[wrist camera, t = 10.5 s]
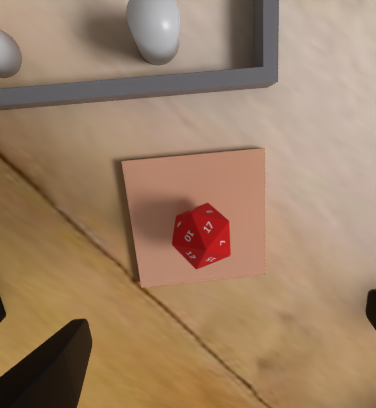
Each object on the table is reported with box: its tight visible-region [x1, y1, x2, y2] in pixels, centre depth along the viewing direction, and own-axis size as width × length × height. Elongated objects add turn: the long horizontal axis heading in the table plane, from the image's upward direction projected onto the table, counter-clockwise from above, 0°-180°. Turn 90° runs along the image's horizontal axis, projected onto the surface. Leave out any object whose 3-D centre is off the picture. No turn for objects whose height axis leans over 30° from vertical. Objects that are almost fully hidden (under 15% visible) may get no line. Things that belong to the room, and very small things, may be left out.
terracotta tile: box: [121, 148, 265, 288], centre depth 17 cm, size 9×9×1 cm
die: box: [172, 203, 231, 269], centre depth 14 cm, size 4×3×4 cm
